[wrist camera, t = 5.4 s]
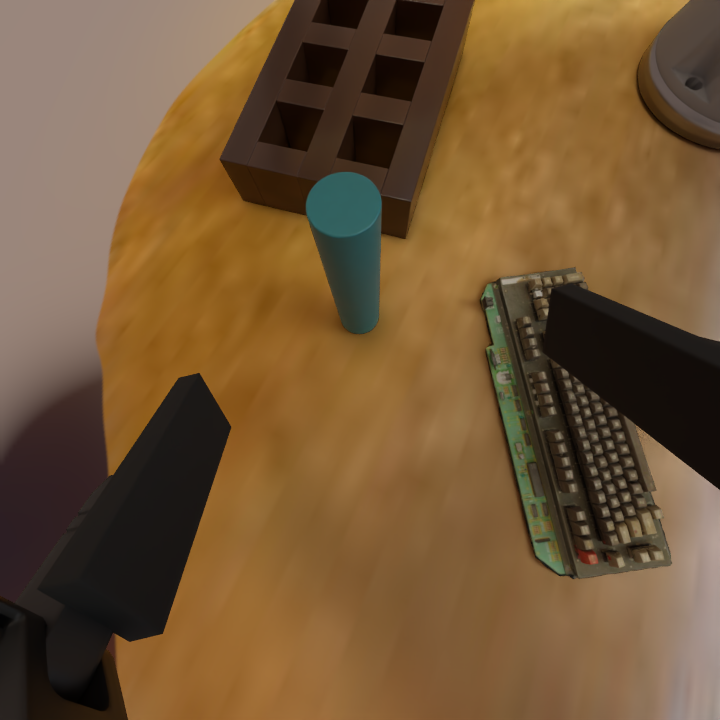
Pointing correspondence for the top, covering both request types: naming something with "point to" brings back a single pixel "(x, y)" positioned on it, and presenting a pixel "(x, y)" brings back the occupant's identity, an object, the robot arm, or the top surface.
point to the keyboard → (568, 444)
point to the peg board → (349, 102)
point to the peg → (349, 244)
